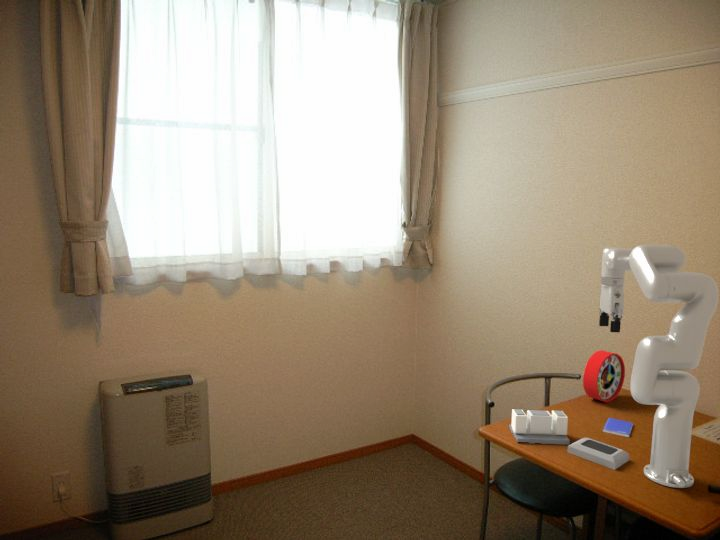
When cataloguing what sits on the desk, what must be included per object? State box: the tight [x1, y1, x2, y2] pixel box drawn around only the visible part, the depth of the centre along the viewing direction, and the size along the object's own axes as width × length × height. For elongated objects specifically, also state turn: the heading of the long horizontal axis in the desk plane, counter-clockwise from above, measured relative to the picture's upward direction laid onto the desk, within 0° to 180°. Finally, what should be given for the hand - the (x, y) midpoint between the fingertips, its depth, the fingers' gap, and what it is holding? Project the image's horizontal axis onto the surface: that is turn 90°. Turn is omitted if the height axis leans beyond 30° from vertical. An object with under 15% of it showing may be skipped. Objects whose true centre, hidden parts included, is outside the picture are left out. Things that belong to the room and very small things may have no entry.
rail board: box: [508, 408, 571, 446], centre depth 181 cm, size 12×17×8 cm
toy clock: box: [582, 349, 626, 403], centre depth 217 cm, size 20×6×20 cm, turn 124°
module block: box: [526, 409, 552, 434], centre depth 181 cm, size 5×7×6 cm
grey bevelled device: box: [567, 437, 630, 471], centre depth 167 cm, size 10×4×15 cm
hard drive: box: [602, 417, 634, 438], centre depth 189 cm, size 2×8×12 cm
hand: (609, 329), depth 192 cm, fingers open, 9 cm apart
